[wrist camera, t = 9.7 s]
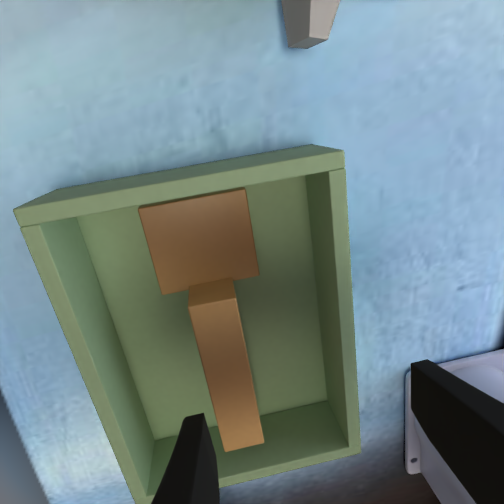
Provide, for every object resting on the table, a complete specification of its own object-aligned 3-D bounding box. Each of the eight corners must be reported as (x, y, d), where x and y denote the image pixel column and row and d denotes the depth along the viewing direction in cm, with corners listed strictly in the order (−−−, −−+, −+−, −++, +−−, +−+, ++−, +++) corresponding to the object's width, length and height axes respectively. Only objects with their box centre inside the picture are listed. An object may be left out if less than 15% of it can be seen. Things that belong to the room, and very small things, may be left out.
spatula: (278, 396, 22) (290, 437, 19) (198, 415, 21) (198, 459, 18) (243, 185, 17) (252, 198, 14) (139, 204, 16) (127, 221, 14)
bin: (335, 399, 23) (361, 453, 19) (148, 442, 22) (136, 509, 18) (312, 143, 17) (344, 149, 13) (55, 189, 16) (11, 209, 12)
